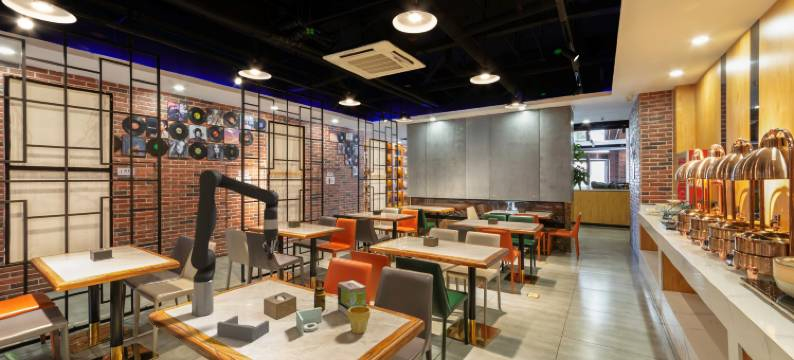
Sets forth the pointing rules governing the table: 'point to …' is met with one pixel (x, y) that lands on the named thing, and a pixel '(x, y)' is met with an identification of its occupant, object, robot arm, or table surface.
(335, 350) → the table surface
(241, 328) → the box
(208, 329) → the table surface
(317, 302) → the condiment
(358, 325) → the plant pot
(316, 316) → the right angle wall
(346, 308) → the tea box
